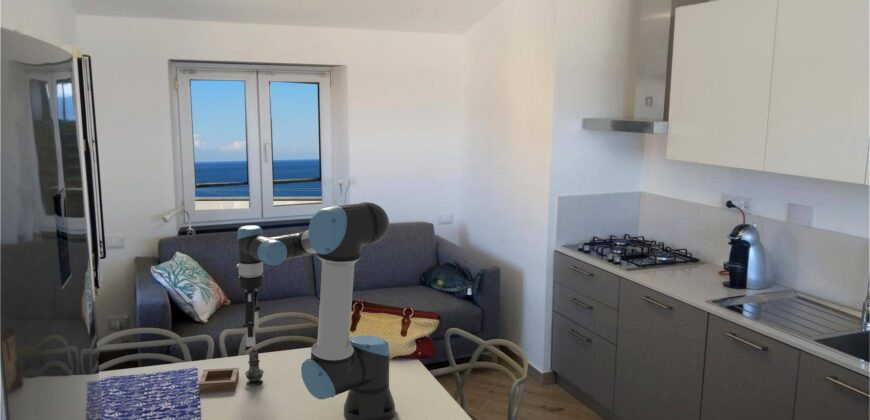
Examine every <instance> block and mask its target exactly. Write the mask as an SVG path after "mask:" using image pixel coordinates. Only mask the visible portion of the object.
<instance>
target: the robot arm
mask: <svg viewBox="0 0 870 420" xmlns="http://www.w3.org/2000/svg"><path fill="white" fill-rule="evenodd" d="M389 227H390V221H389V216H388V214H387V212H386V211H385V210H384V209H383V208H382V207H381V206H380V205H378V204H376V203H375V202H374V203H373V202H367V201H366V202H363V201H362V202H359V203H358V202H356V203H351V204H343V205H331V206H329V207H324V208H323V207H322V208H321V209H319V210H318V211H317V212H316V213H314V215H313V216H312V218H311V219H310V222H309V225H308V229H307V230H304V231H300V232H297V233H291V234H284V235H278V236H272V237H267V236H264V235H263V234H264V233H263V229H262V227H261V226H259V225H244V226H240V227H238V229H237V239H236V242H237V259H238V260H237V261H238V264H236V268H238V287H240V289H244V290H245V293H244V299H245V300H244V307H245V316H244V317H245V323H244V324H243V328H245V346H246V347H256V332H257V331H258V332H259V311H261V307H260V306H259V290H258V289H260V288H262V287H263V286H264V275H263V273H264V264H265V265H271V266H278V265H280V264H282V263H283V262H284V261H285V260H290V259H294V258H301V257H305V256H306V257H307V256H314V255H315V254H316V257H317V259H319V260H320V262H321V274H320V275H321V277H320V292H319V307H318V308H319V309H318V311H319V312H318V324H317V325H318V327H317V341H316V342H315V343H314V344H313V345H312V346H311V352H310V358H306V360H304V361H303V362H302V364H301V367H300V368H301V370H300V371H301V378H302V381H303V384H304V386H305V388H306V390H307V391H308V392H309V393H310V395H311V396H312V397H314V398H316V399H318V400H327V399H329V398H334V397H336V396H338V395H340V394H342V393H345V392H348V393H347V396H346V399H345V402H344V405H343V417H344V418H345V419H346V420H391V419H393V418H394V416H395V413H396V404H395V401H394V397H393V395H392V392H391V388H390V355H391V353H390V345H389V343H388V341H387V340H386V339H384V338H382V337H379V336H377V335H376V336H375V335H368V334H361V335H360V334H359V335H354V336H351V337H350V332H351V320H352V306H353V304H352V303H353V290H354V277H355V263H357V262H358V261H359V260H360V259H362V247H366V246H369V245H370V246H371V245H374V244H376V243H378V242H380V241H381V240H382V239H384V237H386V235H387V233H388V231H389Z"/></svg>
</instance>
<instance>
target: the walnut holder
mask: <svg viewBox="0 0 870 420" xmlns="http://www.w3.org/2000/svg"><path fill="white" fill-rule="evenodd" d="M239 369H240V368H239V367H227V368H226V367H225V368H212V369H211V368H210V369H203V370H202V371H203V372H202V374H201V377H200V380H199V382H198V395H200V394H217V393H227V392H228V393H231V392H232V393H233V392H236V390H237V386H238V382H239V378H240V371H239Z"/></svg>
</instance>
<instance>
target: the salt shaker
mask: <svg viewBox="0 0 870 420" xmlns="http://www.w3.org/2000/svg"><path fill="white" fill-rule="evenodd" d="M247 362H248V364H249V369H248V370H246V371H245V372H244V375H245V377H246V380H247V381H246V386H248V387H258V386H261V385H262V384H263V383H264V381H263V380H262V378H263V375H264V370H263V369H261V368H260V359H259V352H258V350H256V349H255V348H254V347H253V348H252V350H250V351H249V353H248V361H247Z"/></svg>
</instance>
